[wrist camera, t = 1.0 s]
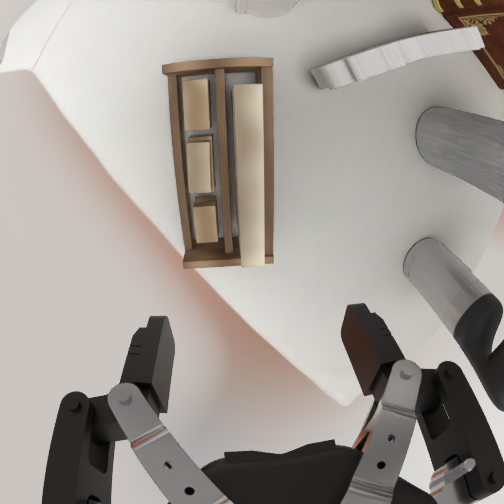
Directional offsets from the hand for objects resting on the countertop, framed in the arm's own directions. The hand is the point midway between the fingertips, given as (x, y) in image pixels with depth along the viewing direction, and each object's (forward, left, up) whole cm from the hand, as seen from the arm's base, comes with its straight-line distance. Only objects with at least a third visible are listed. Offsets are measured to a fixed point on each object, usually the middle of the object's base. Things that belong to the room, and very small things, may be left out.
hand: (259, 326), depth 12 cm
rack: (+2, -2, -28) cm, 28 cm away
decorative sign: (-20, -18, -28) cm, 39 cm away
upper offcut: (+4, -2, -25) cm, 26 cm away
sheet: (-1, -2, -28) cm, 28 cm away
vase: (-32, -7, -28) cm, 43 cm away
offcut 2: (+4, +6, -28) cm, 29 cm away
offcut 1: (+4, -9, -28) cm, 30 cm away
